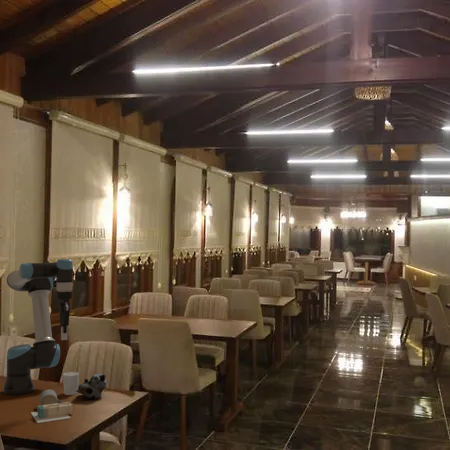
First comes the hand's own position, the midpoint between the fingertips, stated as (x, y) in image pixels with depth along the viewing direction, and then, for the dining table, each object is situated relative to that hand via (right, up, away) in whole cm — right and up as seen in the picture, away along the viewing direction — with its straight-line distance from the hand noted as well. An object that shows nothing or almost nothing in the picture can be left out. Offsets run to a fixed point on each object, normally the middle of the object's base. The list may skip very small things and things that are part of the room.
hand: (64, 339), depth 277 cm
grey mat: (0, -30, -21) cm, 37 cm away
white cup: (-1, -31, +16) cm, 35 cm away
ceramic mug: (-4, -31, -8) cm, 32 cm away
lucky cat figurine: (+11, -31, +10) cm, 34 cm away
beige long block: (+8, -28, -17) cm, 33 cm away
